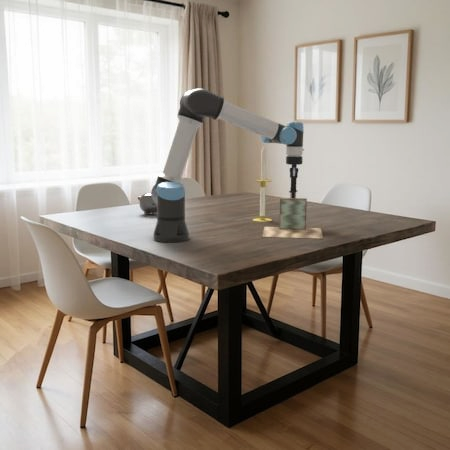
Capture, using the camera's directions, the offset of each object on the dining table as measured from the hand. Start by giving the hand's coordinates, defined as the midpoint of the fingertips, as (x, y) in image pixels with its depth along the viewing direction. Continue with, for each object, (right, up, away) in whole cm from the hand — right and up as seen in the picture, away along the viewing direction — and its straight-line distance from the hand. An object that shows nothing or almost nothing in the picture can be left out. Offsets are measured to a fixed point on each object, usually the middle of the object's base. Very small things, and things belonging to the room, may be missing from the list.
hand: (292, 205), depth 256 cm
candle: (-13, -7, +16) cm, 22 cm away
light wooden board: (-2, -13, -14) cm, 19 cm away
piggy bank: (-71, -4, +32) cm, 78 cm away
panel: (-1, -11, -6) cm, 12 cm away
